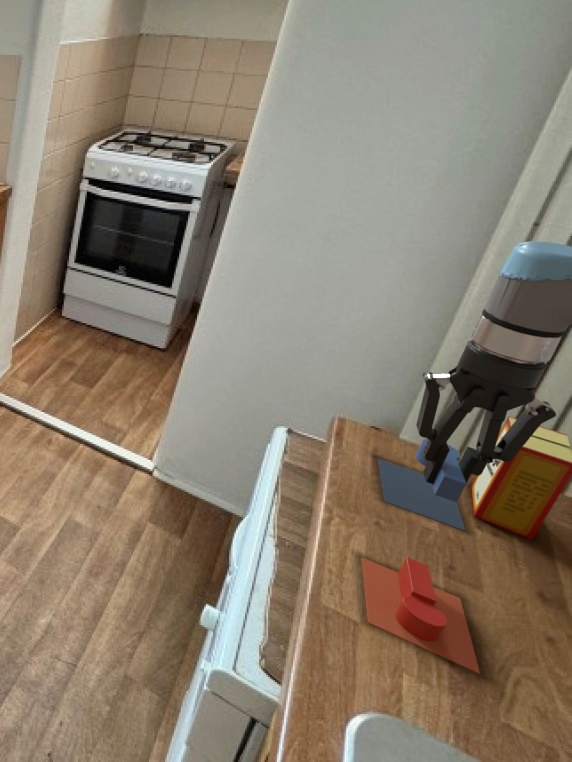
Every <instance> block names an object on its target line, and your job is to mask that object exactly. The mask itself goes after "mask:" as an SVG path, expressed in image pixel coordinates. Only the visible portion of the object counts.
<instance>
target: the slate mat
mask: <svg viewBox="0 0 572 762" xmlns="http://www.w3.org/2000/svg"><path fill="white" fill-rule="evenodd" d="M377 462H378V469H379V475H380V481H381V487H382V493H383V500H384V502H385V503H388V504H390V505H393V506H395V507H399V508H401V509H404V510H406V511H408V512H412V513H413V514H417V515H420V516H423V517H425V518H427V519H431V520H434V521H436V522H439V523H442V524H444V525H447V526H449V527H452V528H455V529H457V530H461V531H463V532H466V531H467V530H466V527H465V523H464V520H463V516H462V514H461V509H460V507H459V504H458V501H457V502H454V501H451V500H448V499H445V498H442V497H440V496H437V495H435V494H434V490H433V487H432V484H431V483H428V482H426V479H425V476H424V473H423V472H420V471H416V470H414V469H411V468H407V467H405V466H401V465H399V464H397V463H393V462H390V461H387V460H384V459H381V458H377Z"/></svg>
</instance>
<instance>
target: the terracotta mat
mask: <svg viewBox="0 0 572 762" xmlns="http://www.w3.org/2000/svg"><path fill="white" fill-rule="evenodd" d="M361 567H362V568H361V569H362V578H363V586H364V596H365V608H366V616H367V624H370V625H372V626H374V627H376V628H379V629H380V630H383V631H385V632H386V633H390V635H391V634H392V635H394V636H396V637H398V638H400V639H402V640H404V641H407V642H409V643H411V644H413V645H415V646H416V647H417V646H418V647H420V648H422V649H424V650H425V651H429V652H431V653H433V654H435V655H437V656H439V657H441V658H443V659H446V660H448V661H450V662H453V663H454V664H456V665H458V666H461V667H463V668H465V669H468V670H470V671H472V672H474V673H476V674H479V675H481V671H480V668H479V664H478V660H477V657H476V652H475V648H474V645H473V640H472V636H471V634H470V629H469V626H468V620H467V618H466V614H465V610H464V606H463V603H462V599H461V597H458V596H455V595H454V594H451V593H448V592H446V591H444V590H442V589H439V588H436V587H434V586H433V589H434V594H435V599H436V602H435V604H434V605H435V606H436V607H437V608H439V609H440V610H441V611H442V612H443V614H444V615H445V616H446V618H447V624H446V626H445V628H444V630H443V631H442V633H441V635H440V637H439V638H438V640H436V641H426V640H423V639H420V638H418V637H416V636H414V635H412V634H411V633H409V632H408V631H407V630H405V629H404V628H403V627H402V626H401V625H400V624H399V622H398V621H397V619H396V616H395V614H396V611H397V610H398V608H399V606H400V604H401V602H402V598H401V591H400V585H399V579H398V572H399V571H396V570H393V569H391V568H389V567H386V566H384V565H381V564H379V563H376V562H374V561H371V560H369V559H367V558H364V557H361Z"/></svg>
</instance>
